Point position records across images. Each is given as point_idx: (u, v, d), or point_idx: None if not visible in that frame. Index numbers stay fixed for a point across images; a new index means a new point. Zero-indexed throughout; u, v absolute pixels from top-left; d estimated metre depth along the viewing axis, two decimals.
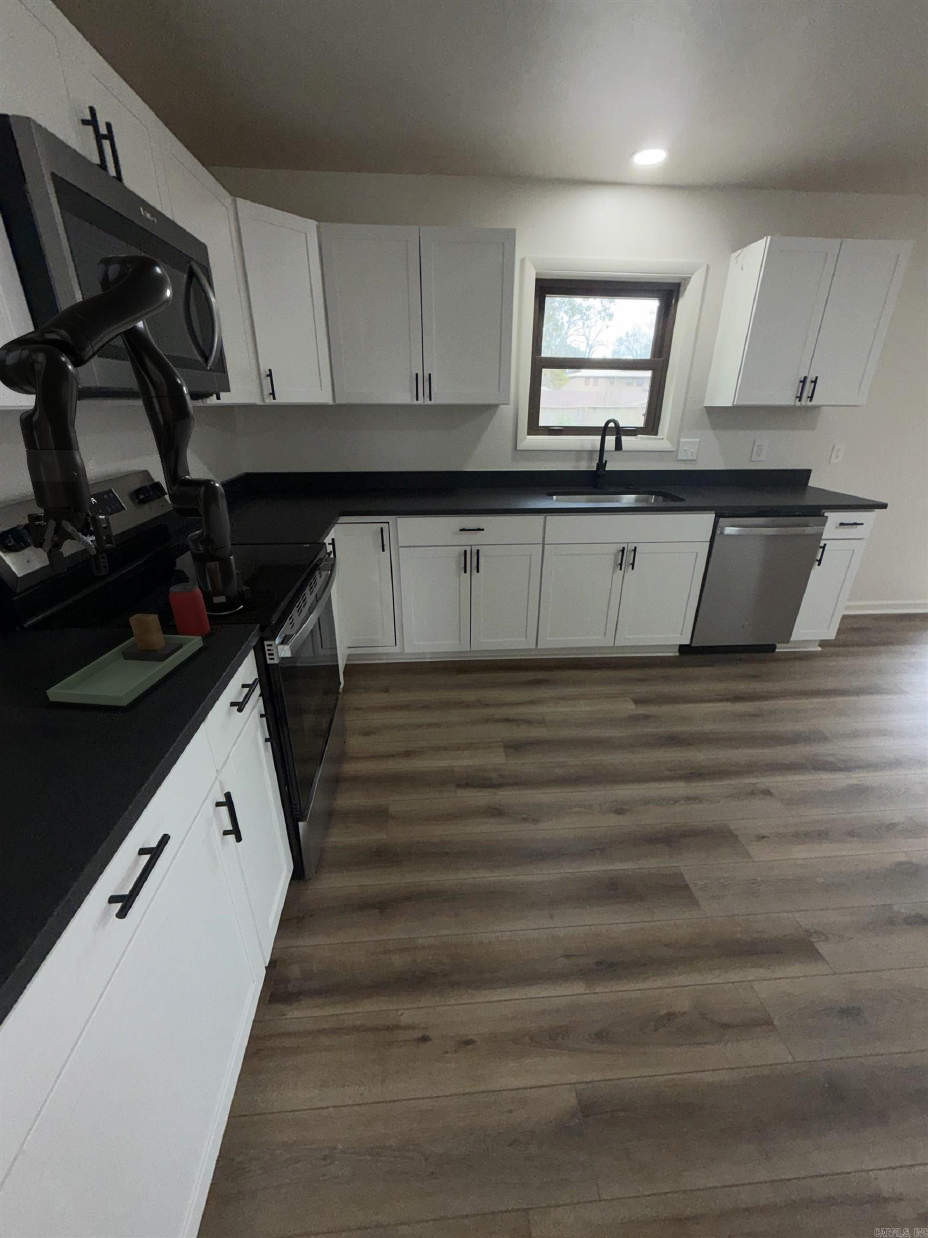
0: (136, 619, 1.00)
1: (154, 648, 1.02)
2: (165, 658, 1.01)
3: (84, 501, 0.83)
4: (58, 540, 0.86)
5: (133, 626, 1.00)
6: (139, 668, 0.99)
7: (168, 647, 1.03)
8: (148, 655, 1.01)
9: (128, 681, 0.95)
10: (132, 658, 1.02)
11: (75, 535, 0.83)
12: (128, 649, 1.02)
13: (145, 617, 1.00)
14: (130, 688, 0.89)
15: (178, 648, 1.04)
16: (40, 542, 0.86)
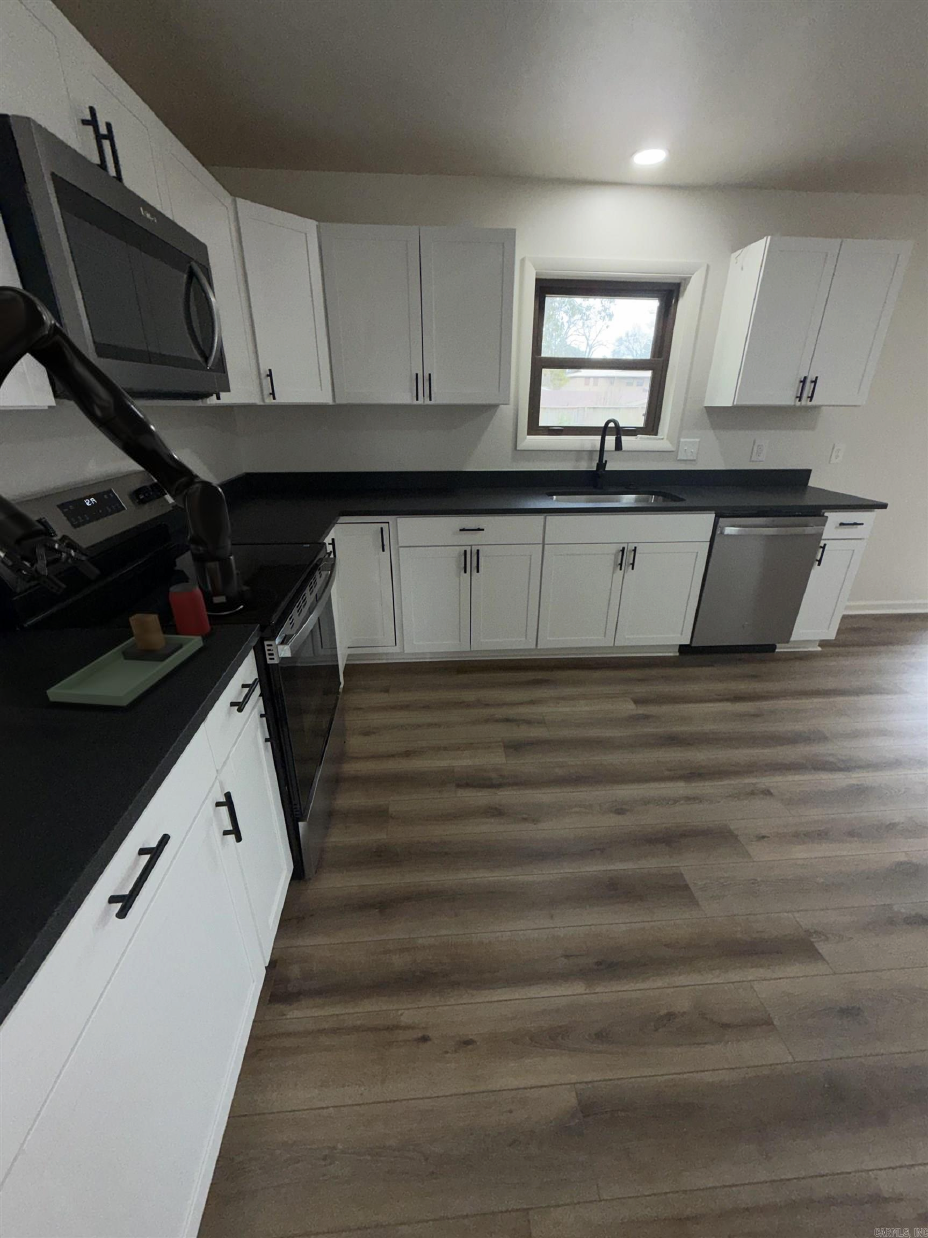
0: (136, 619, 1.00)
1: (154, 648, 1.02)
2: (165, 658, 1.01)
3: (6, 542, 0.92)
4: (67, 559, 1.00)
5: (133, 626, 1.00)
6: (139, 668, 0.99)
7: (168, 647, 1.03)
8: (148, 655, 1.01)
9: (128, 681, 0.95)
10: (132, 658, 1.02)
11: None
12: (128, 649, 1.02)
13: (145, 617, 1.00)
14: (130, 688, 0.89)
15: (178, 648, 1.04)
16: None
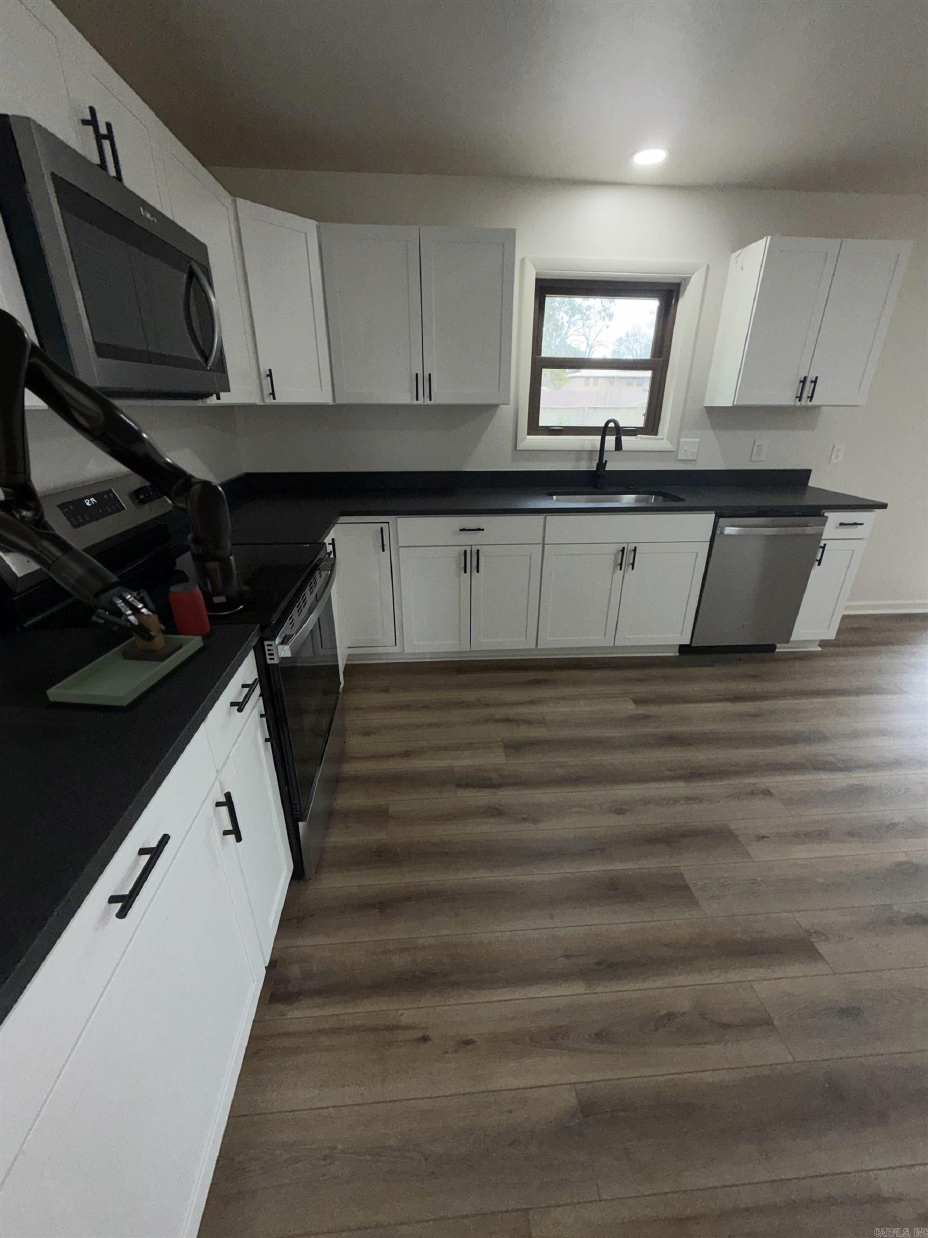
0: None
1: (154, 648, 1.02)
2: (165, 658, 1.01)
3: (86, 596, 0.96)
4: (135, 612, 1.02)
5: None
6: (139, 668, 0.99)
7: (168, 647, 1.03)
8: (148, 655, 1.01)
9: (128, 681, 0.95)
10: (132, 658, 1.02)
11: None
12: (128, 649, 1.02)
13: (145, 617, 1.00)
14: (130, 688, 0.89)
15: (178, 648, 1.04)
16: None
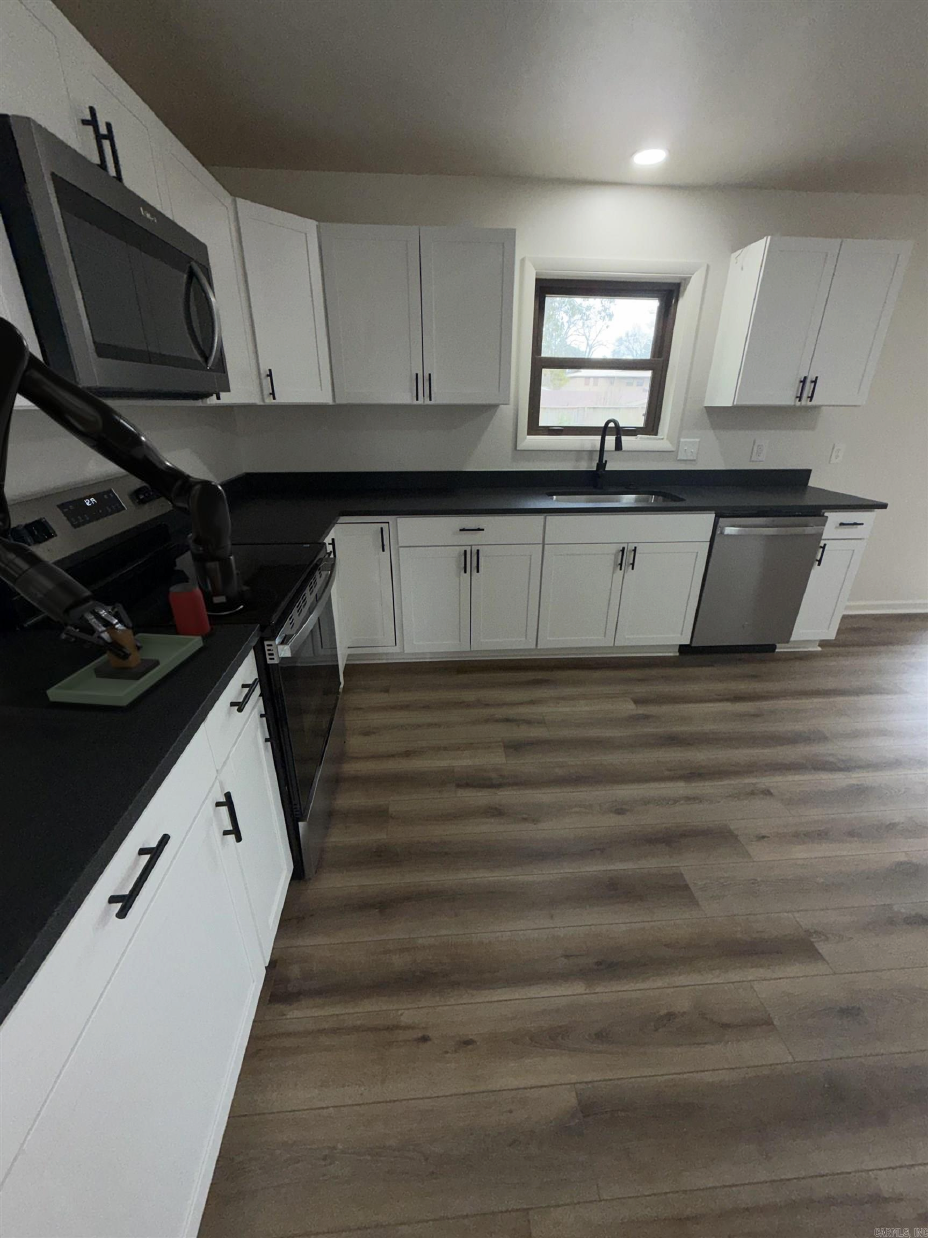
0: None
1: (128, 665, 0.95)
2: (140, 676, 0.95)
3: (55, 612, 0.89)
4: None
5: None
6: None
7: (144, 664, 0.97)
8: (122, 673, 0.95)
9: (128, 681, 0.95)
10: (105, 676, 0.95)
11: (89, 635, 0.93)
12: (101, 666, 0.96)
13: (118, 633, 0.93)
14: (130, 688, 0.89)
15: (154, 665, 0.98)
16: None
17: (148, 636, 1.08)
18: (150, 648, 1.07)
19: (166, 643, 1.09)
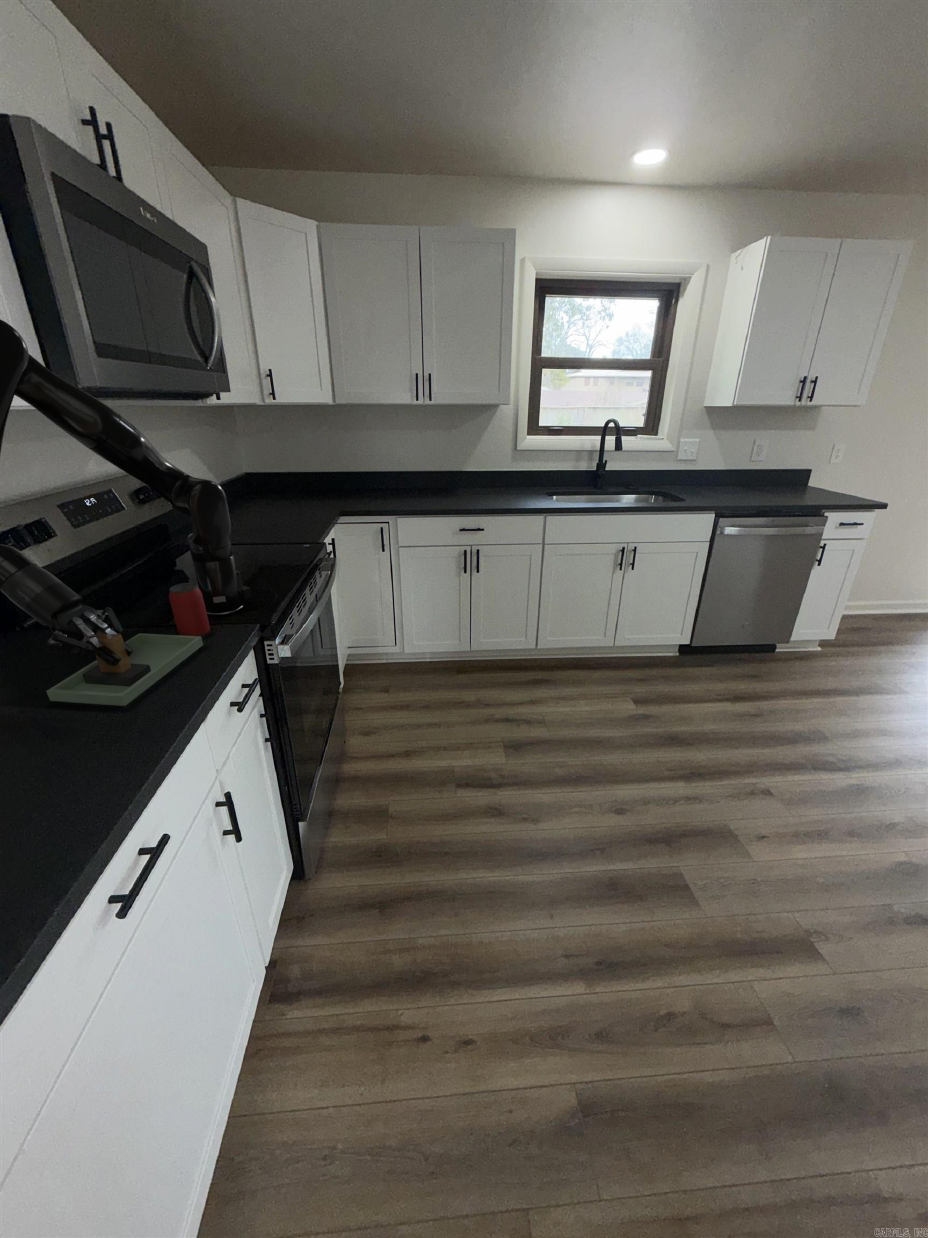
0: None
1: (118, 671, 0.93)
2: (130, 682, 0.93)
3: (43, 617, 0.87)
4: (98, 633, 0.93)
5: None
6: None
7: (134, 670, 0.95)
8: (111, 679, 0.93)
9: None
10: (94, 682, 0.93)
11: (78, 640, 0.91)
12: (90, 672, 0.94)
13: (107, 637, 0.91)
14: (130, 688, 0.89)
15: (145, 670, 0.96)
16: None
17: (148, 636, 1.08)
18: (150, 648, 1.07)
19: (166, 643, 1.09)
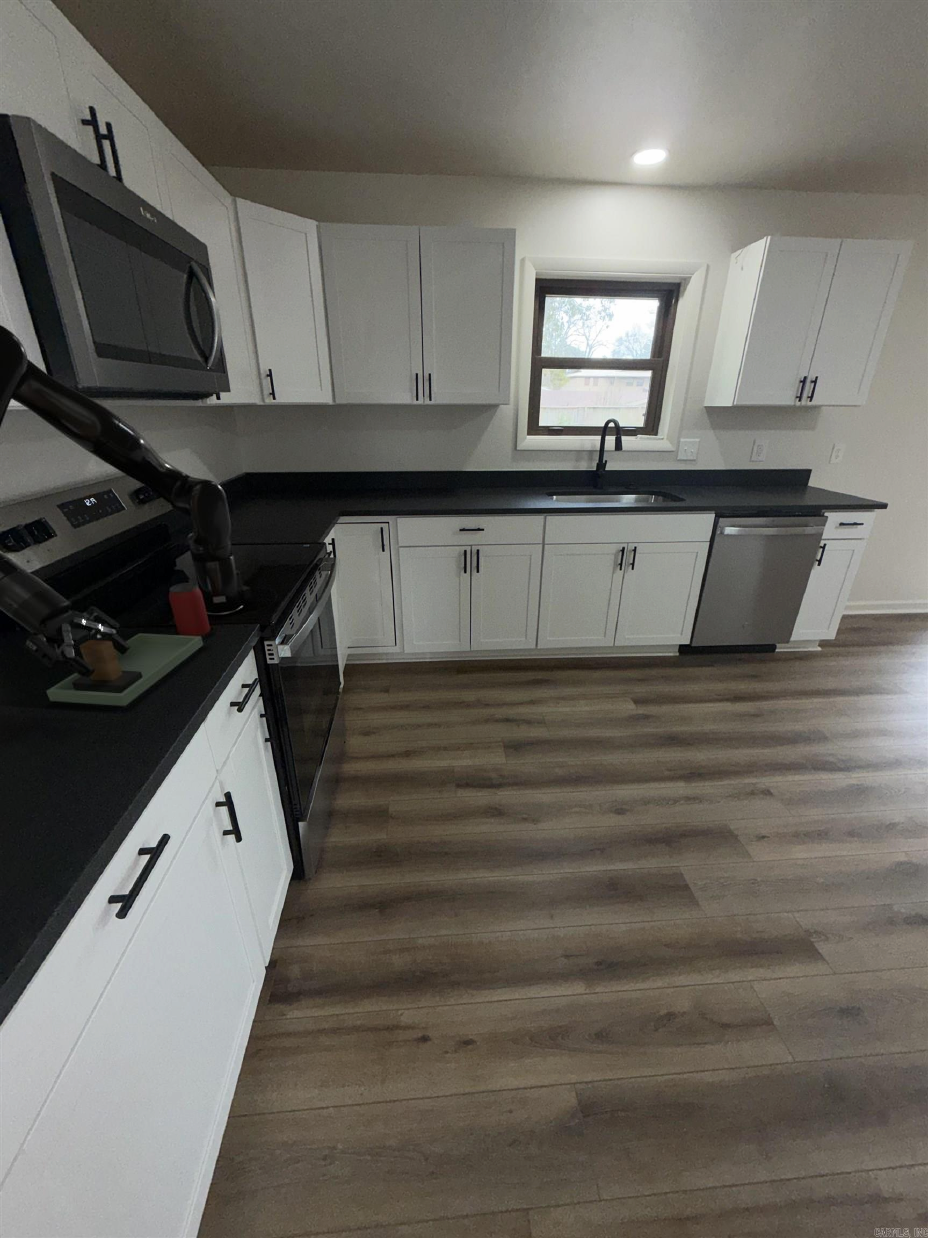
0: (87, 647, 0.89)
1: (108, 678, 0.91)
2: (120, 690, 0.90)
3: (31, 623, 0.85)
4: (95, 634, 0.92)
5: (84, 654, 0.89)
6: (139, 668, 0.99)
7: (125, 677, 0.92)
8: (102, 687, 0.90)
9: None
10: (84, 690, 0.91)
11: None
12: (80, 679, 0.91)
13: (97, 644, 0.89)
14: (130, 688, 0.89)
15: (136, 678, 0.93)
16: None
17: (148, 636, 1.08)
18: (150, 648, 1.07)
19: (166, 643, 1.09)
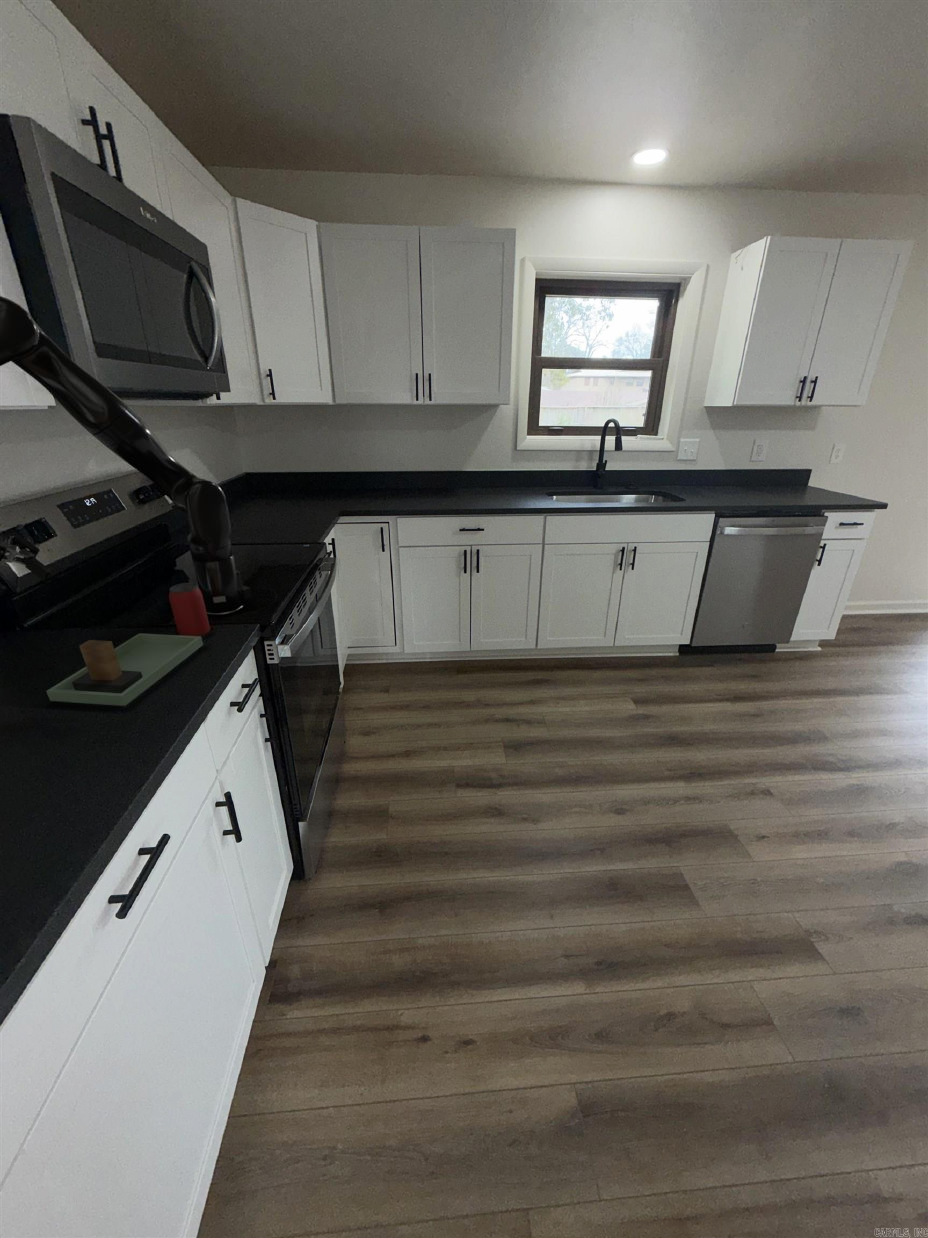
0: (87, 647, 0.89)
1: (108, 678, 0.91)
2: (120, 690, 0.90)
3: None
4: (11, 556, 0.89)
5: (84, 654, 0.89)
6: (139, 668, 0.99)
7: (125, 677, 0.92)
8: (102, 687, 0.90)
9: None
10: (84, 690, 0.91)
11: None
12: (80, 679, 0.91)
13: (97, 644, 0.89)
14: (130, 688, 0.89)
15: (136, 678, 0.93)
16: None
17: (148, 636, 1.08)
18: (150, 648, 1.07)
19: (166, 643, 1.09)
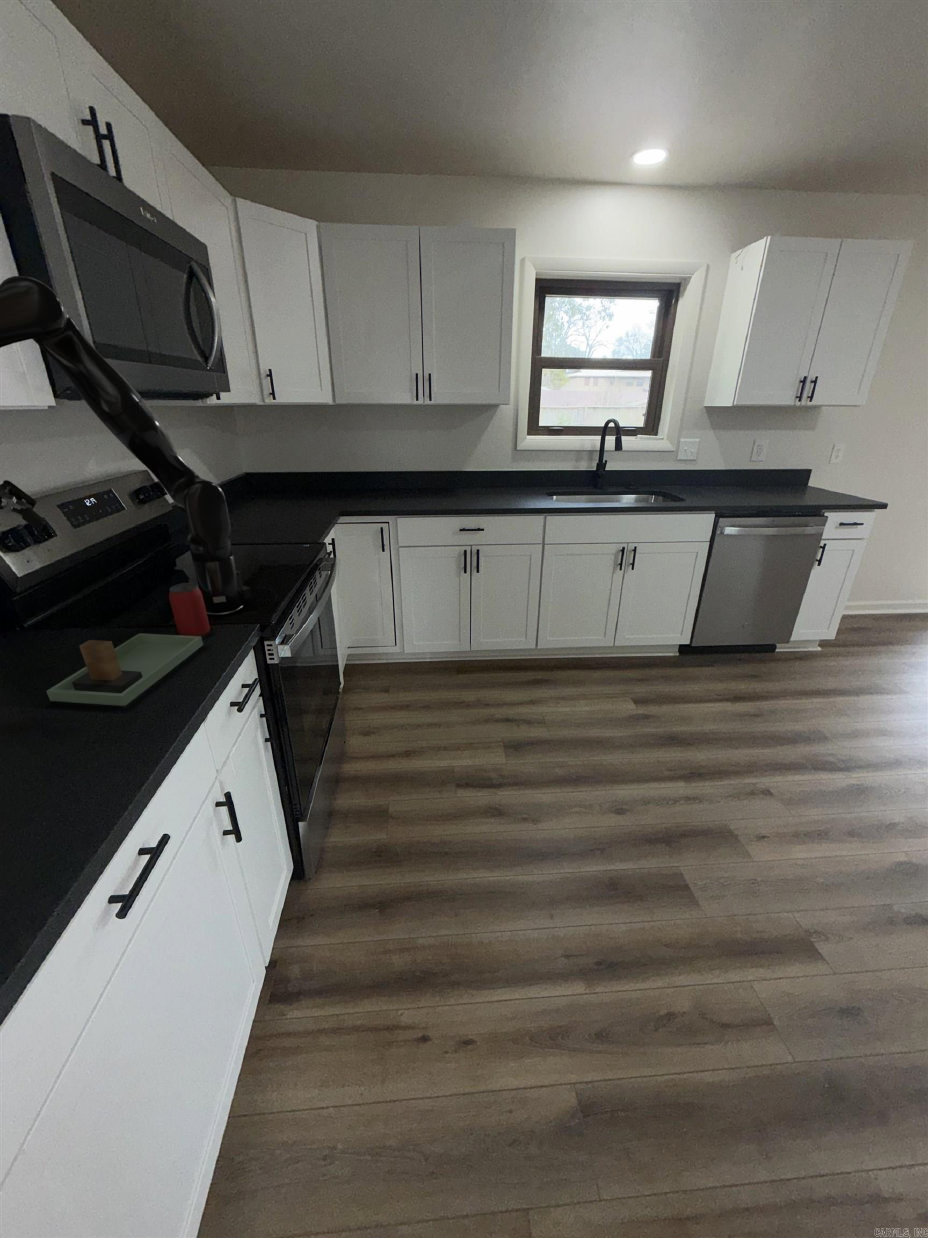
0: (87, 647, 0.89)
1: (108, 678, 0.91)
2: (120, 690, 0.90)
3: None
4: (8, 506, 0.89)
5: (84, 654, 0.89)
6: (139, 668, 0.99)
7: (125, 677, 0.92)
8: (102, 687, 0.90)
9: None
10: (84, 690, 0.91)
11: None
12: (80, 679, 0.91)
13: (97, 644, 0.89)
14: (130, 688, 0.89)
15: (136, 678, 0.93)
16: None
17: (148, 636, 1.08)
18: (150, 648, 1.07)
19: (166, 643, 1.09)
